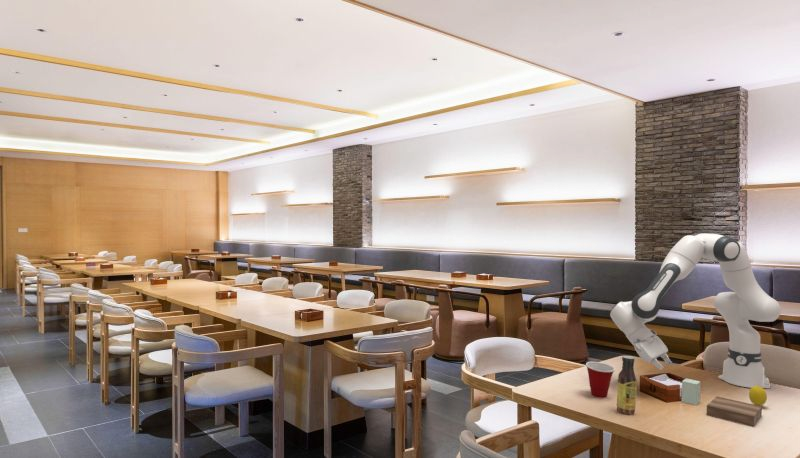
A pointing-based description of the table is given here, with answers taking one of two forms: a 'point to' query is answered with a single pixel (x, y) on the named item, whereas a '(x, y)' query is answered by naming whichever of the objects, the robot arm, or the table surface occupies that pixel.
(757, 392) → the lemon
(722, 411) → the walnut slab
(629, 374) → the sauce bottle
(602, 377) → the plastic cup
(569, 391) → the table surface
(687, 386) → the sage block
